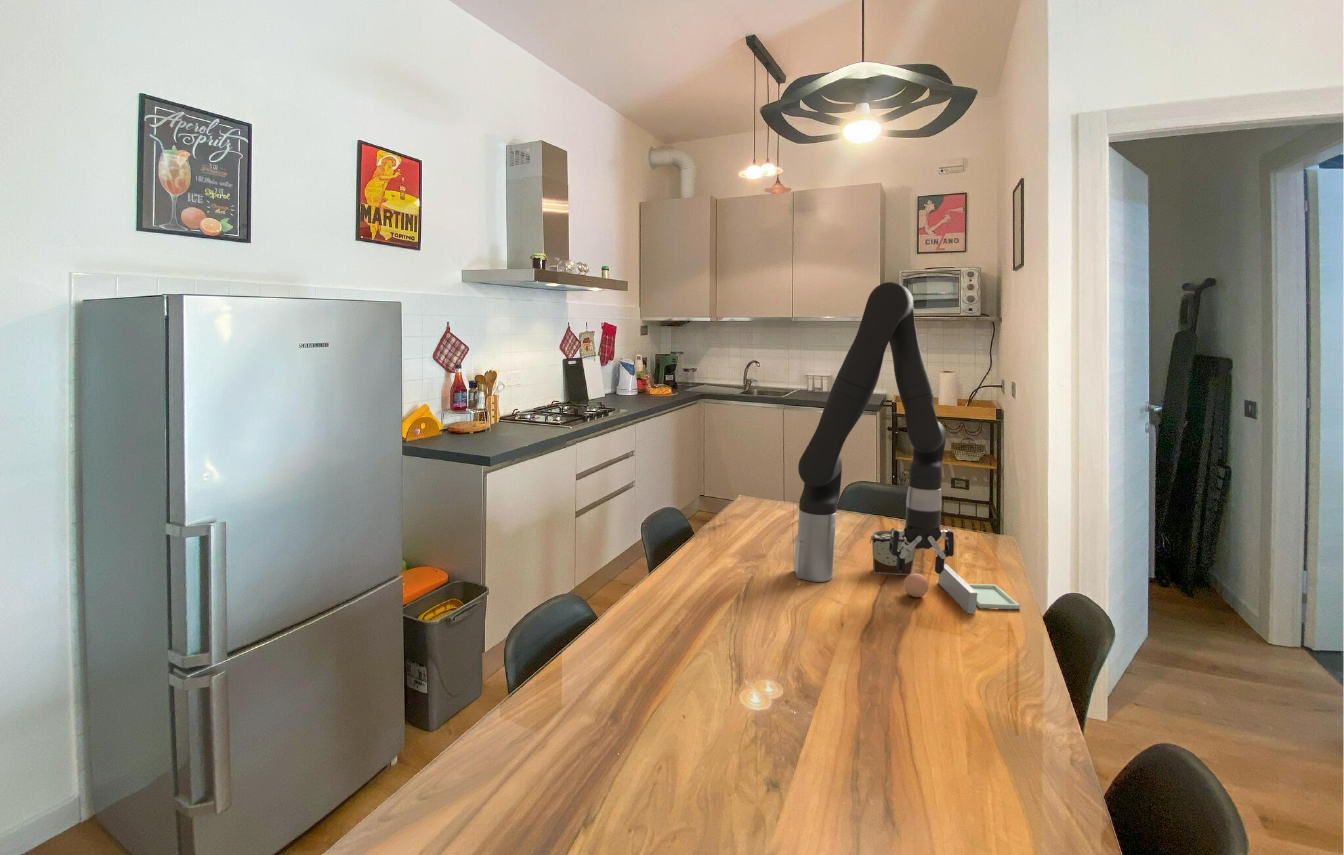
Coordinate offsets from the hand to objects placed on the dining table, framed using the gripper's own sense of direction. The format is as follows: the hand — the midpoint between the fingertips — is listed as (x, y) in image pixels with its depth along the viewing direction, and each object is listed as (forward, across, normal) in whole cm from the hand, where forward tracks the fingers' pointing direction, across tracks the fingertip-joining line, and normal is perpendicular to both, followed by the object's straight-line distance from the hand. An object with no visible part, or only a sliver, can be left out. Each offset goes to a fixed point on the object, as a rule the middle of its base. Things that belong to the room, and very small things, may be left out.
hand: (919, 572), depth 154 cm
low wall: (+6, +9, 0) cm, 11 cm away
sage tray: (+6, +16, 0) cm, 18 cm away
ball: (+6, -1, 0) cm, 6 cm away
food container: (+6, -2, +17) cm, 18 cm away
